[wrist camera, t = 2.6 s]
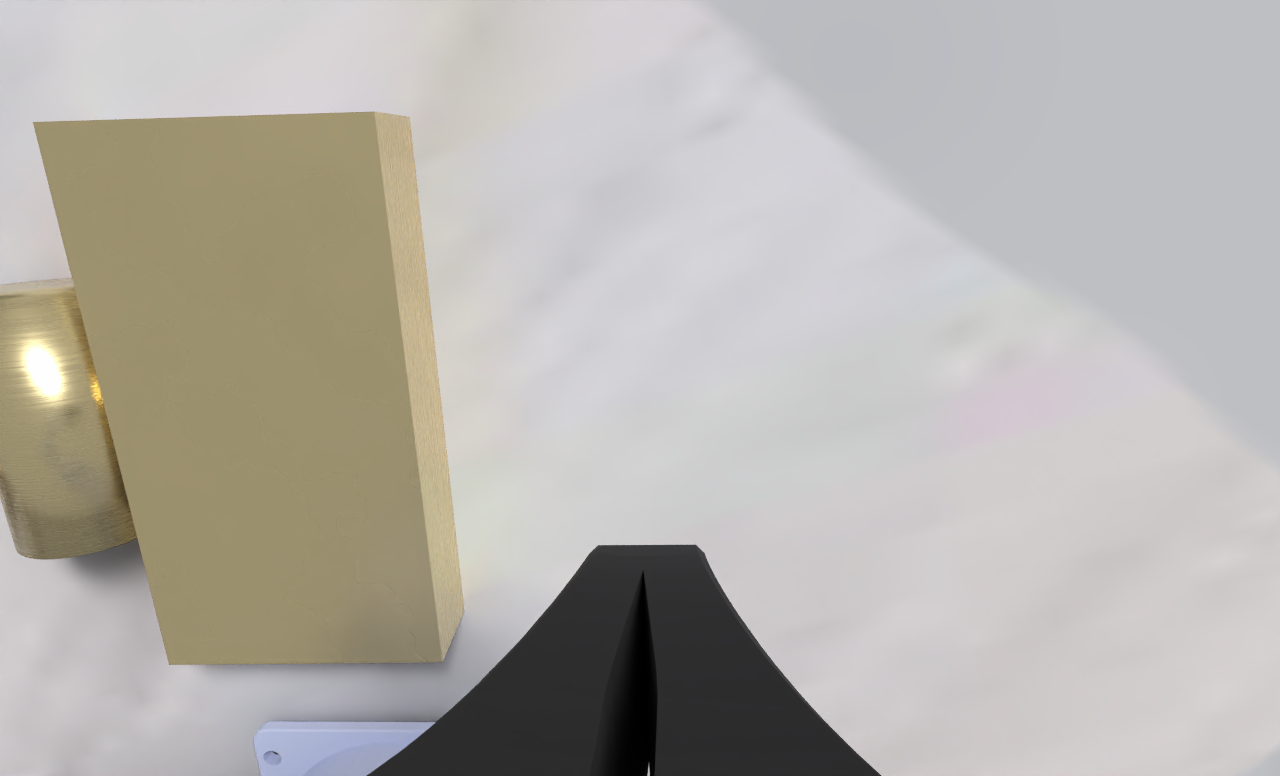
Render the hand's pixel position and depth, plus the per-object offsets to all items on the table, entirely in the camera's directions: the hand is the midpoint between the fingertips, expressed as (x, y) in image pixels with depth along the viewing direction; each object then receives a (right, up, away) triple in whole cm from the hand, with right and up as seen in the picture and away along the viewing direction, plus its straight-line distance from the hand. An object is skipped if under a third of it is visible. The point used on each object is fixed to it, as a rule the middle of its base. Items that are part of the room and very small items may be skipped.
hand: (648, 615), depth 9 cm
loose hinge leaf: (-10, +3, +10) cm, 15 cm away
